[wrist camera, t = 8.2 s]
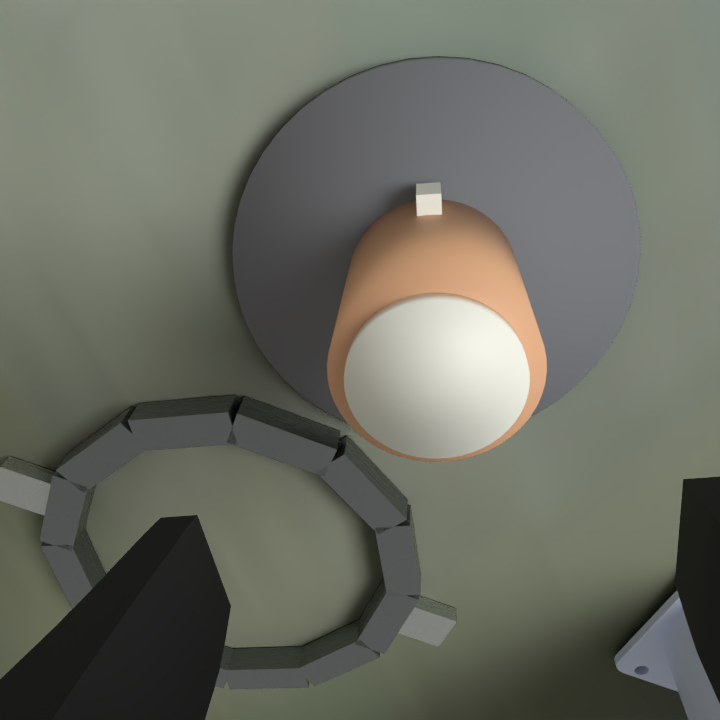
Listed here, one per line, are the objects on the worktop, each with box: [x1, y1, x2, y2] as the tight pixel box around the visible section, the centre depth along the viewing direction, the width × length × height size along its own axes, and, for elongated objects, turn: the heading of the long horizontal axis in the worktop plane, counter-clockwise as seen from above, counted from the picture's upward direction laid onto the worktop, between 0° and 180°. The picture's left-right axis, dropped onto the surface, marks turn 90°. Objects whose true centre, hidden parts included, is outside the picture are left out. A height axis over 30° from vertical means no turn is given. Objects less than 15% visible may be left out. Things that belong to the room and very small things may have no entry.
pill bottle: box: [327, 182, 547, 462], centre depth 16 cm, size 6×5×5 cm
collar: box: [0, 395, 457, 689], centre depth 25 cm, size 17×13×1 cm
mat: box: [232, 56, 640, 422], centre depth 19 cm, size 11×11×1 cm
